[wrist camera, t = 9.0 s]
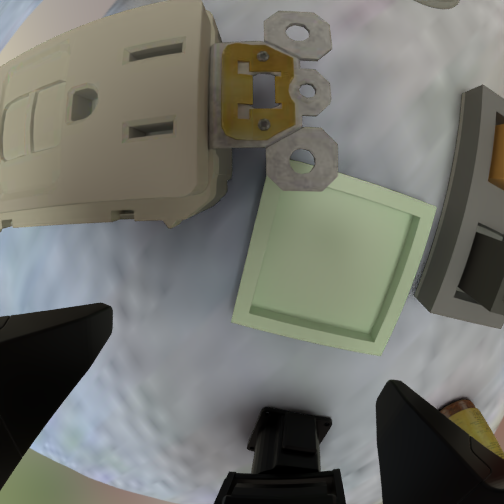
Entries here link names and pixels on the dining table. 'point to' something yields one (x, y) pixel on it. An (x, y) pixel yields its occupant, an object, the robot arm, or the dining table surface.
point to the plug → (497, 158)
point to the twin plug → (485, 273)
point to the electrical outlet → (154, 116)
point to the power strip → (466, 212)
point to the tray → (332, 262)
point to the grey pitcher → (439, 3)
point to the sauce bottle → (472, 424)
